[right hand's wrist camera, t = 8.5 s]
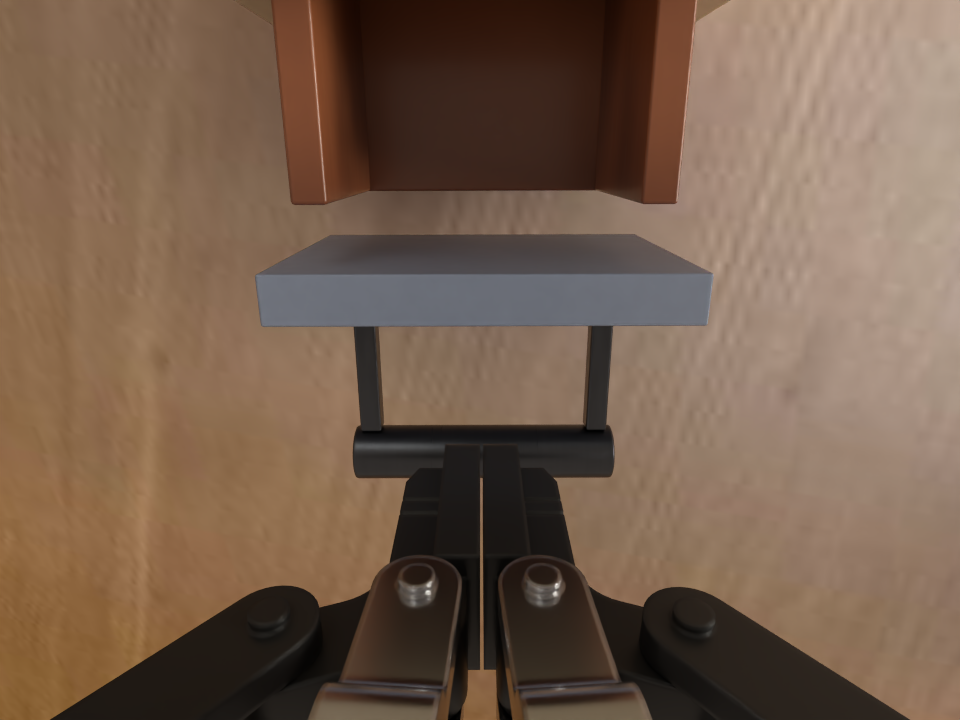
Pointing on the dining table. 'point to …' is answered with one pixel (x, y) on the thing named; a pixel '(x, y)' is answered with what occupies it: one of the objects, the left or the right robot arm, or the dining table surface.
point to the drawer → (484, 188)
